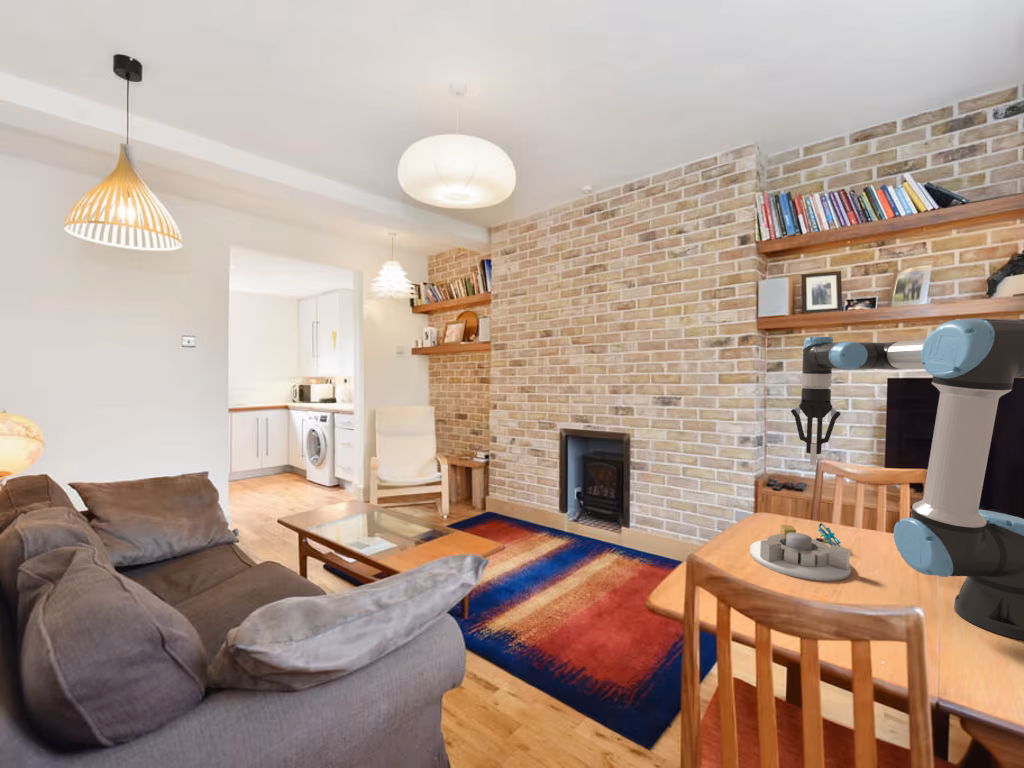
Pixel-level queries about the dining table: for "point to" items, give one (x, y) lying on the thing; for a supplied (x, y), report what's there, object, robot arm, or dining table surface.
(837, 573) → the white shallow round piece
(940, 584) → the dining table surface
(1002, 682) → the dining table surface
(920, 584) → the dining table surface
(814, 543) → the grey segmented ring
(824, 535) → the stick construction toy
